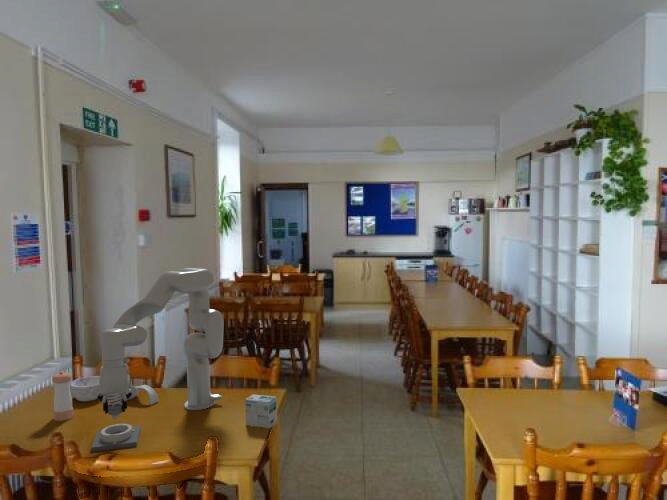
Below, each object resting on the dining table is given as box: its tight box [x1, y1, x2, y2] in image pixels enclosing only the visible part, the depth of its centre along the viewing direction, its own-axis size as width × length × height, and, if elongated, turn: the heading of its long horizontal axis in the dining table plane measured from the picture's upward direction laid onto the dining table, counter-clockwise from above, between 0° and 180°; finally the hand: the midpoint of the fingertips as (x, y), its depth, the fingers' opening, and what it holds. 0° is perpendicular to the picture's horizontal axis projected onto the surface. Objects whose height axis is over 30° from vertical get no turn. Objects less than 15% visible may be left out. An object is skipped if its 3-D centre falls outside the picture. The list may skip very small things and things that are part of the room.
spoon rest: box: [116, 384, 160, 405], centre depth 234 cm, size 24×12×7 cm, turn 64°
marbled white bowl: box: [70, 375, 100, 402], centre depth 236 cm, size 15×15×8 cm
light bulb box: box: [244, 393, 278, 430], centre depth 204 cm, size 11×7×11 cm, turn 71°
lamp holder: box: [90, 423, 141, 453], centre depth 191 cm, size 15×15×4 cm
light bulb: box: [107, 391, 124, 420], centre depth 190 cm, size 6×6×12 cm
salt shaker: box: [51, 370, 74, 422], centre depth 213 cm, size 7×7×19 cm
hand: (115, 411), depth 191 cm, fingers closed on light bulb, 5 cm apart
